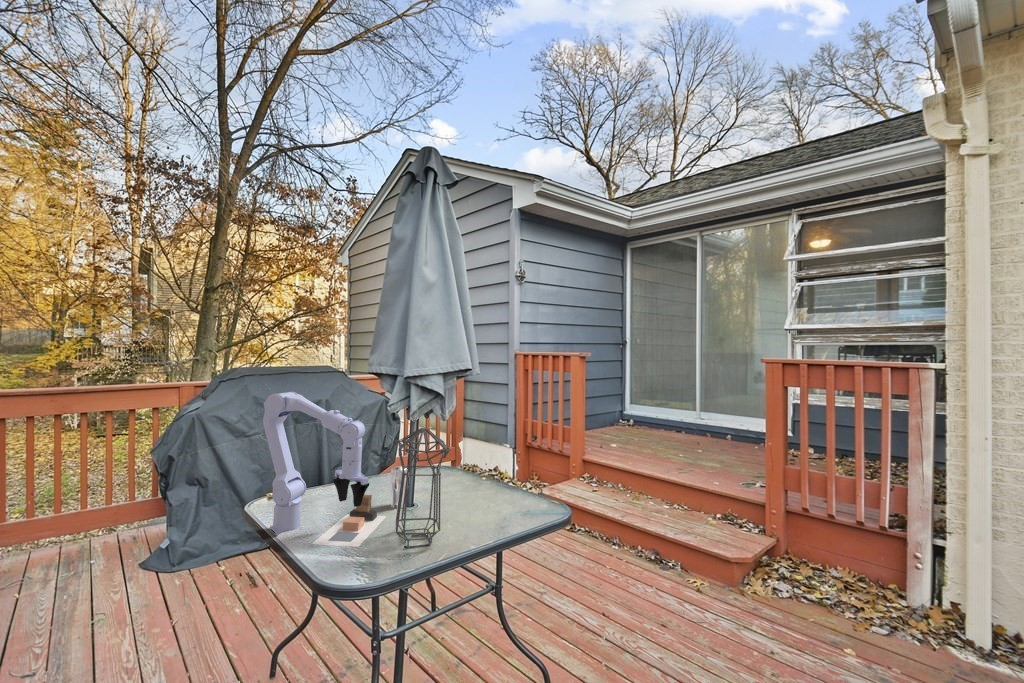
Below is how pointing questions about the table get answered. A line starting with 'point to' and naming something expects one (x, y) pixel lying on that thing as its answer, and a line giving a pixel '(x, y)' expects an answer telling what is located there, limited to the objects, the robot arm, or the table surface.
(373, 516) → the brown block stamp
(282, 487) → the robot arm
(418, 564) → the table surface
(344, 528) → the tile
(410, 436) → the geometric lantern
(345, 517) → the board
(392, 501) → the beer glass
